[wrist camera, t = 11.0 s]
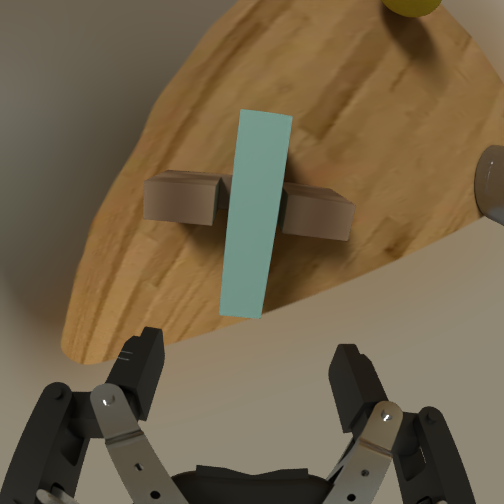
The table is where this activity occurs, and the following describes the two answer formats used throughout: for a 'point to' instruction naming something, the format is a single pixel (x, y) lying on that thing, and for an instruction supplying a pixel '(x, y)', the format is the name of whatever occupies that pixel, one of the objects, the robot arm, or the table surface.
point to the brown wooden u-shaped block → (218, 197)
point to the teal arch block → (253, 210)
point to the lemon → (412, 7)
